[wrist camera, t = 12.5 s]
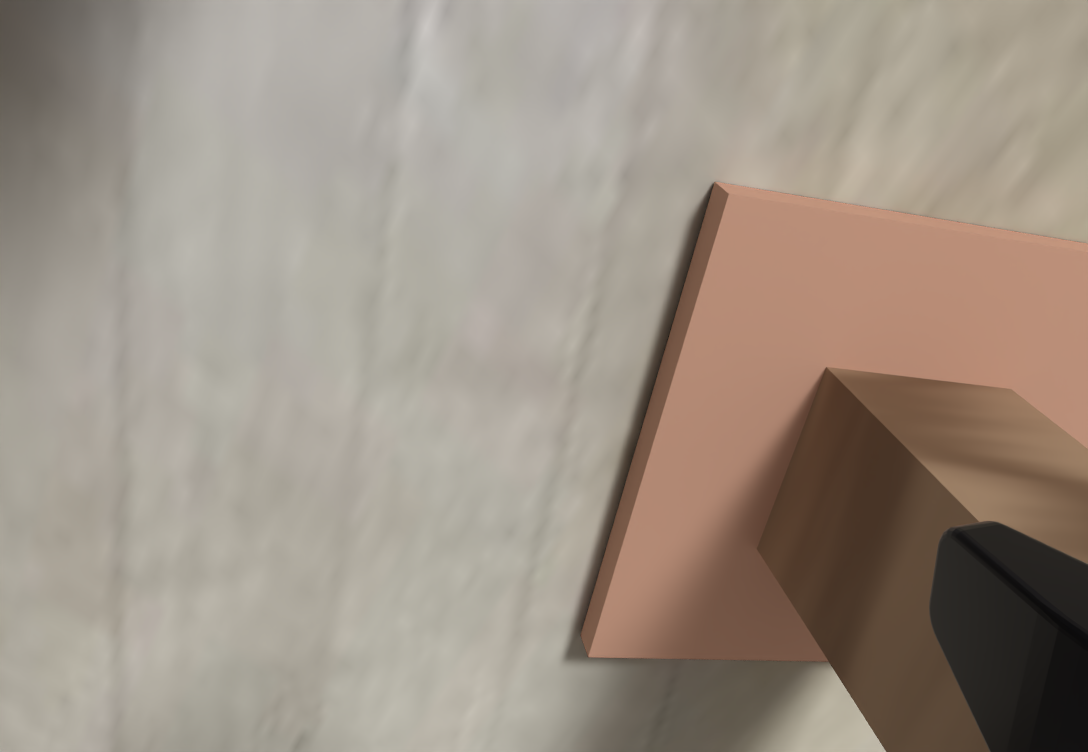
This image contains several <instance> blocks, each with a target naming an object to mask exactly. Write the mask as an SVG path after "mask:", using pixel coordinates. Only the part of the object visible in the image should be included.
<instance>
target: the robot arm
mask: <svg viewBox="0 0 1088 752" xmlns="http://www.w3.org/2000/svg"><path fill="white" fill-rule="evenodd" d="M929 615H930V621H931V625H932V628H933V631H934V634H935V636H936V639H937V641H938V643H939V645H940V647H941V649H942V651H943V653H944V656H945V658H946V660H947V662H948V664H949V666H950V668H951V670H952V673H953V675H954V677H955V679H956V681H957V683H958V685H959V688H960V690H961V692H962V694H963V696H964V698H965V700H966V702H967V705H968V707H969V709H970V711H971V713H972V715H973V717H974V719H975V722H976V724H977V726H978V728H979V730H980V732H981V734H982V736H983V739H984V741H985V743H986V745H987V747H988V749H989V751H990V752H1088V564H1087V563H1085V562H1083V561H1081V560H1078V559H1076V558H1074V557H1072V556H1070V555H1068V554H1066V553H1064V552H1062V551H1059V550H1057V549H1055V548H1053V547H1051V546H1049V545H1047V544H1045V543H1043V542H1040V541H1038V540H1036V539H1034V538H1032V537H1030V536H1028V535H1026V534H1024V533H1021V532H1019V531H1017V530H1015V529H1013V528H1011V527H1009V526H1007V525H1004V524H1002V523H999V522H996V521H982V522H976V523H970V524H964V525H958V526H953V527H950V528H948V529H946V530H945V531H944V532H943V534H942V535H941V537H940V539H939V543H938V548H937V555H936V561H935V568H934V574H933V580H932V587H931V593H930V600H929Z"/></svg>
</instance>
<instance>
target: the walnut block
mask: <svg viewBox="0 0 1088 752" xmlns="http://www.w3.org/2000/svg"><path fill="white" fill-rule="evenodd" d="M982 521H996V522H999V523H1002V524H1004V525H1007V526H1009V527H1011V528H1013V529H1015V530H1017V531H1019V532H1021V533H1024V534H1026V535H1028V536H1030V537H1032V538H1034V539H1036V540H1038V541H1040V542H1043V543H1045V544H1047V545H1049V546H1051V547H1053V548H1055V549H1057V550H1059V551H1062V552H1064V553H1066V554H1068V555H1070V556H1072V557H1074V558H1076V559H1078V560H1081V561H1083V562H1085V563H1087V564H1088V449H1087V448H1086V447H1085V446H1083V445H1082V444H1081V443H1080V442H1078V441H1077V440H1076V439H1075V438H1073V437H1072V436H1071V435H1069V434H1068V433H1067V432H1066V431H1064V430H1063V429H1062V428H1060V427H1059V426H1058V425H1057V424H1055V423H1054V422H1053V421H1051V420H1050V419H1049V418H1048V417H1046V416H1045V415H1044V414H1042V413H1041V412H1040V411H1039V410H1037V409H1036V408H1035V407H1034V406H1032V405H1031V404H1030V403H1028V402H1027V401H1026V400H1025V399H1023V398H1022V397H1021V396H1019V395H1018V394H1017V393H1016V392H1014V391H1013V390H1012V389H1007V388H999V387H990V386H982V385H974V384H965V383H957V382H948V381H940V380H932V379H923V378H915V377H907V376H898V375H890V374H882V373H873V372H865V371H856V370H848V369H840V368H831V367H826V369H825V372H824V374H823V377H822V379H821V382H820V385H819V387H818V390H817V393H816V395H815V398H814V400H813V403H812V406H811V408H810V411H809V413H808V416H807V419H806V421H805V424H804V427H803V429H802V432H801V434H800V437H799V440H798V442H797V445H796V448H795V450H794V453H793V455H792V458H791V461H790V463H789V466H788V468H787V471H786V474H785V476H784V479H783V482H782V484H781V487H780V489H779V492H778V495H777V497H776V500H775V503H774V505H773V508H772V510H771V513H770V516H769V518H768V521H767V523H766V526H765V529H764V531H763V534H762V537H761V539H760V542H759V544H758V547H757V550H758V552H759V553H760V555H761V556H762V558H763V559H764V561H765V563H766V564H767V566H768V567H769V569H770V570H771V572H772V574H773V575H774V577H775V578H776V580H777V581H778V583H779V584H780V586H781V588H782V589H783V591H784V592H785V594H786V595H787V597H788V599H789V600H790V602H791V603H792V605H793V606H794V608H795V610H796V611H797V613H798V614H799V616H800V617H801V619H802V620H803V622H804V624H805V625H806V627H807V628H808V630H809V631H810V633H811V635H812V636H813V638H814V639H815V641H816V642H817V644H818V645H819V647H820V649H821V650H822V652H823V653H824V655H825V656H826V658H827V660H828V661H829V663H830V664H831V666H832V667H833V669H834V671H835V672H836V674H837V675H838V677H839V678H840V680H841V681H842V683H843V685H844V686H845V688H846V689H847V691H848V692H849V694H850V696H851V697H852V699H853V700H854V702H855V703H856V705H857V707H858V708H859V710H860V711H861V713H862V714H863V716H864V717H865V719H866V721H867V722H868V724H869V725H870V727H871V728H872V730H873V732H874V733H875V735H876V736H877V738H878V739H879V741H880V743H881V744H882V746H883V747H884V749H885V750H886V752H990V751H989V749H988V747H987V745H986V743H985V741H984V739H983V736H982V734H981V732H980V730H979V728H978V726H977V724H976V722H975V719H974V717H973V715H972V713H971V711H970V709H969V707H968V705H967V702H966V700H965V698H964V696H963V694H962V692H961V690H960V688H959V685H958V683H957V681H956V679H955V677H954V675H953V673H952V670H951V668H950V666H949V664H948V662H947V660H946V658H945V656H944V653H943V651H942V649H941V647H940V645H939V643H938V641H937V639H936V636H935V634H934V631H933V628H932V625H931V621H930V615H929V600H930V593H931V587H932V580H933V574H934V568H935V561H936V555H937V548H938V543H939V539H940V537H941V535H942V534H943V532H944V531H945V530H946V529H948V528H950V527H953V526H958V525H964V524H970V523H976V522H982Z"/></svg>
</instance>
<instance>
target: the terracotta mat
mask: <svg viewBox="0 0 1088 752" xmlns="http://www.w3.org/2000/svg"><path fill="white" fill-rule="evenodd" d="M826 367H831V368H840V369H848V370H856V371H865V372H873V373H882V374H890V375H898V376H907V377H915V378H923V379H932V380H940V381H948V382H957V383H965V384H974V385H982V386H990V387H999V388H1007V389H1012V390H1013V391H1014V392H1016V393H1017V394H1018V395H1019V396H1021V397H1022V398H1023V399H1025V400H1026V401H1027V402H1028V403H1030V404H1031V405H1032V406H1034V407H1035V408H1036V409H1037V410H1039V411H1040V412H1041V413H1042V414H1044V415H1045V416H1046V417H1048V418H1049V419H1050V420H1051V421H1053V422H1054V423H1055V424H1057V425H1058V426H1059V427H1060V428H1062V429H1063V430H1064V431H1066V432H1067V433H1068V434H1069V435H1071V436H1072V437H1073V438H1075V439H1076V440H1077V441H1078V442H1080V443H1081V444H1082V445H1083V446H1085V447H1086V448H1087V449H1088V244H1087V243H1081V242H1075V241H1069V240H1063V239H1057V238H1051V237H1045V236H1039V235H1033V234H1026V233H1020V232H1014V231H1008V230H1002V229H996V228H990V227H984V226H978V225H972V224H966V223H960V222H954V221H948V220H942V219H936V218H930V217H924V216H918V215H912V214H906V213H900V212H894V211H888V210H882V209H876V208H870V207H864V206H858V205H852V204H846V203H840V202H834V201H828V200H822V199H815V198H809V197H803V196H797V195H791V194H785V193H779V192H773V191H767V190H761V189H755V188H749V187H743V186H737V185H731V184H725V183H719V182H714V186H713V189H712V193H711V196H710V199H709V203H708V206H707V209H706V213H705V216H704V220H703V223H702V226H701V230H700V233H699V236H698V240H697V243H696V247H695V250H694V253H693V257H692V260H691V264H690V267H689V270H688V274H687V277H686V280H685V284H684V287H683V291H682V294H681V297H680V301H679V304H678V307H677V311H676V314H675V318H674V321H673V324H672V328H671V331H670V334H669V338H668V341H667V345H666V348H665V351H664V355H663V358H662V361H661V365H660V368H659V372H658V375H657V378H656V382H655V385H654V388H653V392H652V395H651V399H650V402H649V405H648V409H647V412H646V415H645V419H644V422H643V426H642V429H641V432H640V436H639V439H638V442H637V446H636V449H635V453H634V456H633V459H632V463H631V466H630V469H629V473H628V476H627V480H626V483H625V486H624V490H623V493H622V497H621V500H620V503H619V507H618V510H617V513H616V517H615V520H614V524H613V527H612V530H611V534H610V537H609V540H608V544H607V547H606V551H605V554H604V557H603V561H602V564H601V567H600V571H599V574H598V578H597V581H596V584H595V588H594V591H593V594H592V598H591V601H590V605H589V608H588V611H587V615H586V618H585V621H584V625H583V628H582V632H581V638H582V641H583V644H584V647H585V650H586V652H587V655H588V657H601V658H656V659H712V660H767V661H822V662H829V661H828V660H827V658H826V656H825V655H824V653H823V652H822V650H821V649H820V647H819V645H818V644H817V642H816V641H815V639H814V638H813V636H812V635H811V633H810V631H809V630H808V628H807V627H806V625H805V624H804V622H803V620H802V619H801V617H800V616H799V614H798V613H797V611H796V610H795V608H794V606H793V605H792V603H791V602H790V600H789V599H788V597H787V595H786V594H785V592H784V591H783V589H782V588H781V586H780V584H779V583H778V581H777V580H776V578H775V577H774V575H773V574H772V572H771V570H770V569H769V567H768V566H767V564H766V563H765V561H764V559H763V558H762V556H761V555H760V553H759V552H758V550H757V547H758V544H759V542H760V539H761V537H762V534H763V531H764V529H765V526H766V523H767V521H768V518H769V516H770V513H771V510H772V508H773V505H774V503H775V500H776V497H777V495H778V492H779V489H780V487H781V484H782V482H783V479H784V476H785V474H786V471H787V468H788V466H789V463H790V461H791V458H792V455H793V453H794V450H795V448H796V445H797V442H798V440H799V437H800V434H801V432H802V429H803V427H804V424H805V421H806V419H807V416H808V413H809V411H810V408H811V406H812V403H813V400H814V398H815V395H816V393H817V390H818V387H819V385H820V382H821V379H822V377H823V374H824V372H825V369H826Z"/></svg>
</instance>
